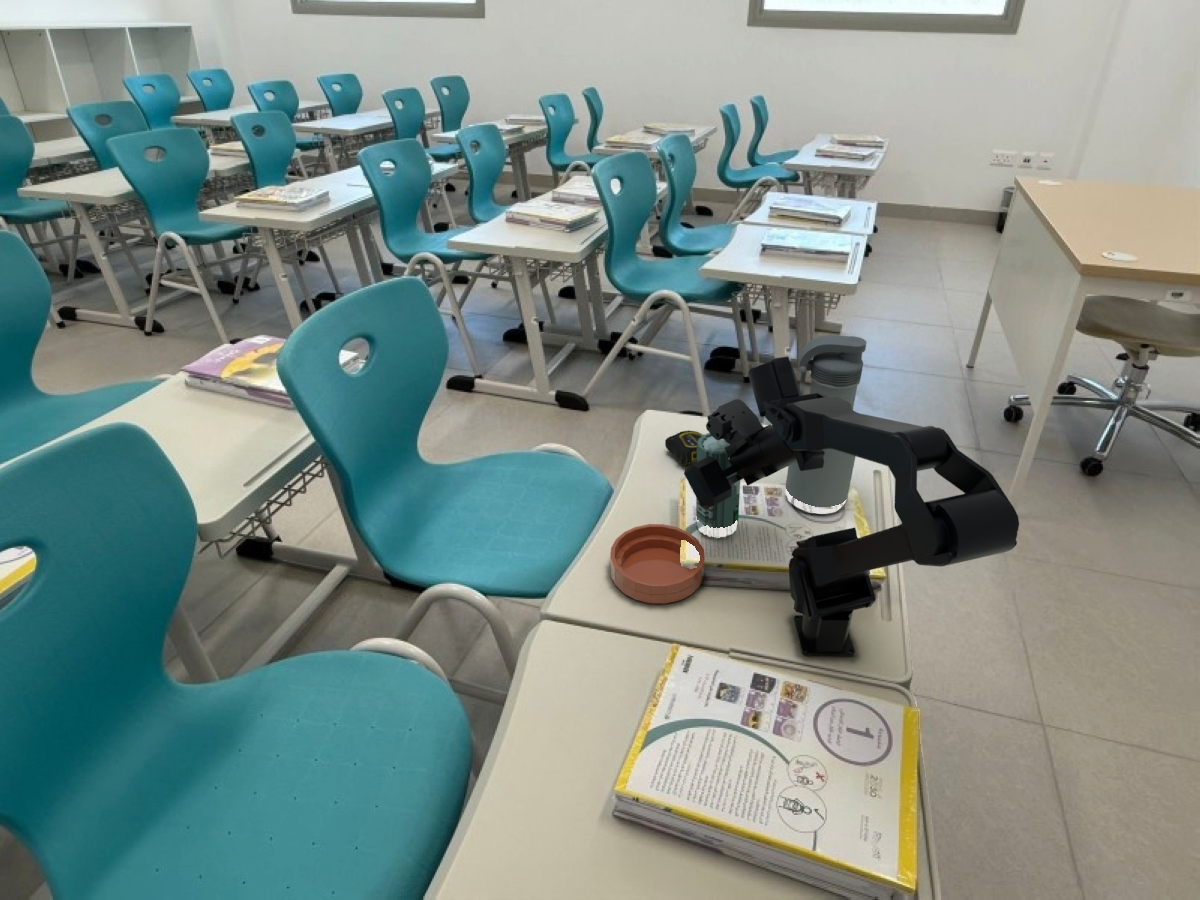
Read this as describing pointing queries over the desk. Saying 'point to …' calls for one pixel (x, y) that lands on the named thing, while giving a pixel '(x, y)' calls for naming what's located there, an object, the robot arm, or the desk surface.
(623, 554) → the bowl
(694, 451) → the tape measure
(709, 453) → the can
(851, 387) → the water bottle
